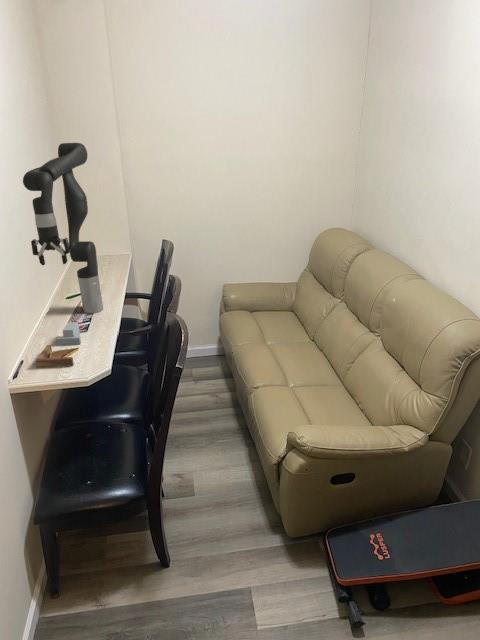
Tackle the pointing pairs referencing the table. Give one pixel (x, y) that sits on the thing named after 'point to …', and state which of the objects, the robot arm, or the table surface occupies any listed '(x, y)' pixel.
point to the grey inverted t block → (70, 335)
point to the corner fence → (52, 359)
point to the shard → (62, 353)
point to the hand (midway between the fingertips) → (54, 264)
